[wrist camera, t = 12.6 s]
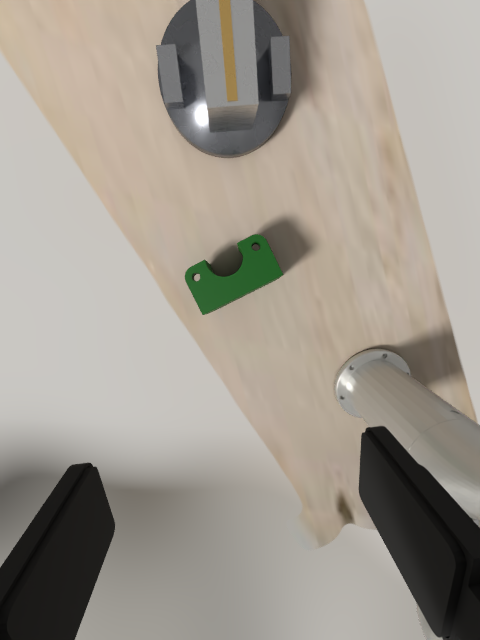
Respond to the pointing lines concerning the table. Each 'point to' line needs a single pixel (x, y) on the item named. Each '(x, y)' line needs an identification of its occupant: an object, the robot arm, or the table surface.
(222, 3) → the striped grey block
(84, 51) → the table surface
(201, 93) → the shallow grey dish
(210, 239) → the table surface
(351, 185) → the table surface
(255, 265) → the clamp
